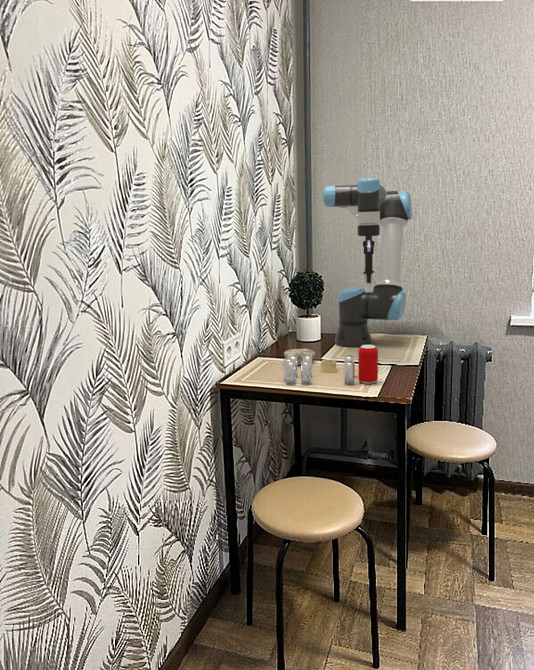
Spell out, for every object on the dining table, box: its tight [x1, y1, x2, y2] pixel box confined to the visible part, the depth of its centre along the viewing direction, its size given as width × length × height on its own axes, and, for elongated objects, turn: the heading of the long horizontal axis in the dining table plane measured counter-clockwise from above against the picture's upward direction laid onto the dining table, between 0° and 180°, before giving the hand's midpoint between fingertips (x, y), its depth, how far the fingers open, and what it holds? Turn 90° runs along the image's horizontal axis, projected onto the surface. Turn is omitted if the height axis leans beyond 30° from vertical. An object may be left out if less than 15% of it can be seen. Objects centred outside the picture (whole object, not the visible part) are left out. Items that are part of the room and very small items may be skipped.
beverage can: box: [357, 344, 379, 385], centre depth 199 cm, size 6×6×12 cm
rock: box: [283, 348, 316, 366], centre depth 227 cm, size 11×11×6 cm
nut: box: [320, 359, 337, 374], centre depth 216 cm, size 5×5×4 cm
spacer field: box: [283, 355, 356, 386], centre depth 204 cm, size 11×28×7 cm, turn 83°
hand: (368, 291), depth 218 cm, fingers closed
